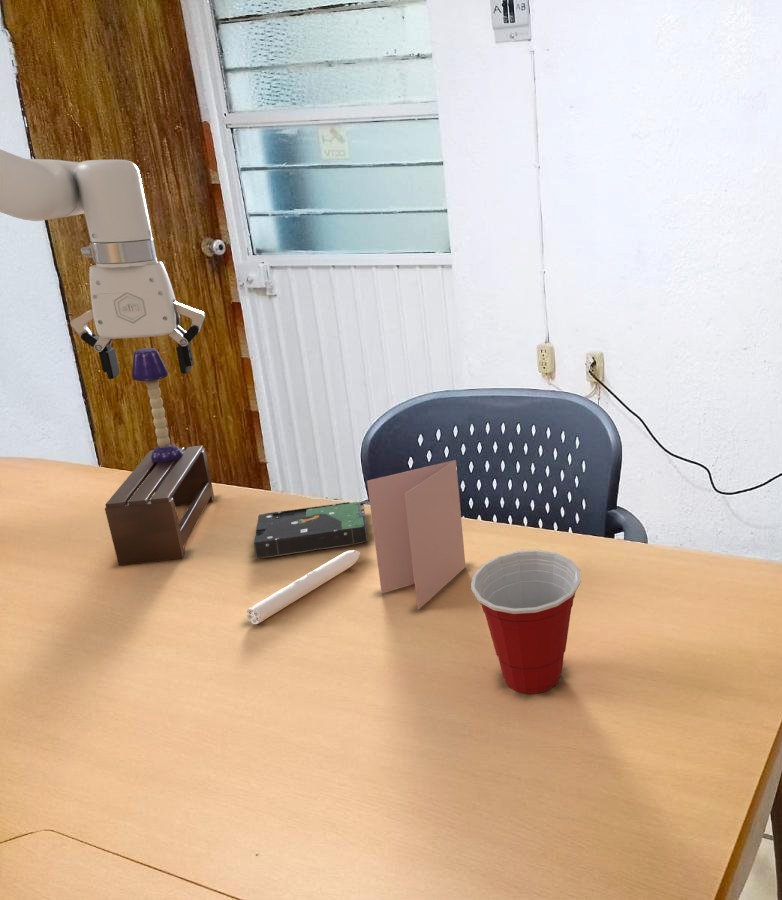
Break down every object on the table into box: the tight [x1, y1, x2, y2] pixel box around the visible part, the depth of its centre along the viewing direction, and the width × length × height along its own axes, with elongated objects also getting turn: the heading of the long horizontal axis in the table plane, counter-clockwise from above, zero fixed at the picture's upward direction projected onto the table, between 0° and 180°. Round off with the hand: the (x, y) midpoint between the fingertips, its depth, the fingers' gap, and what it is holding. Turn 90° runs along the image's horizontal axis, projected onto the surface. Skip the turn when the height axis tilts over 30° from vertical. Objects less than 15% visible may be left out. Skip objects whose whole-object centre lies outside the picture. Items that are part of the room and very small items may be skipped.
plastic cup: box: [470, 549, 582, 695], centre depth 83 cm, size 11×11×12 cm
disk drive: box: [253, 501, 369, 559], centre depth 118 cm, size 10×3×15 cm
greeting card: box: [366, 459, 467, 611], centre depth 101 cm, size 11×7×15 cm, turn 124°
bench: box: [104, 445, 215, 566], centre depth 121 cm, size 8×22×9 cm, turn 13°
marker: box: [246, 549, 361, 625], centre depth 103 cm, size 18×2×2 cm, turn 154°
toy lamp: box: [131, 347, 183, 462], centre depth 122 cm, size 5×5×17 cm
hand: (150, 374), depth 120 cm, fingers open, 9 cm apart
